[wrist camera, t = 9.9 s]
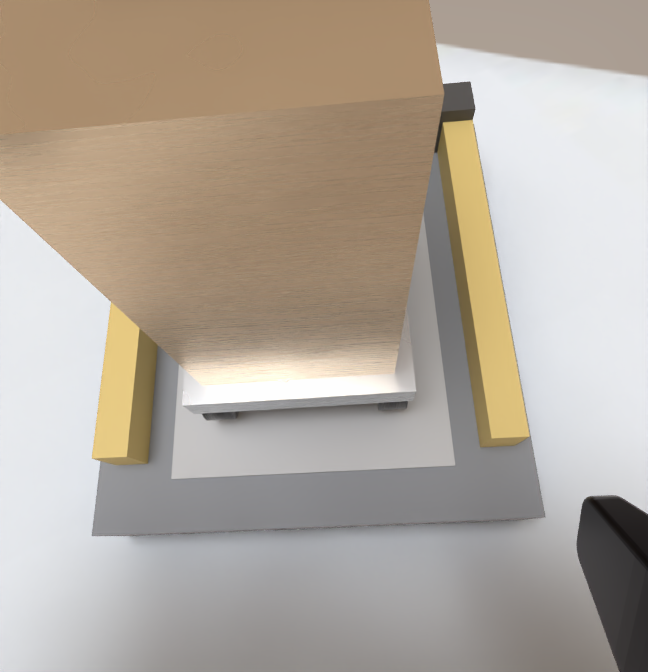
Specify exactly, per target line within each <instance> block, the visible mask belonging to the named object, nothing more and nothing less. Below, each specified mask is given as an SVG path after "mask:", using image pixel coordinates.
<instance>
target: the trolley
mask: <svg viewBox="0 0 648 672" xmlns="http://www.w3.org/2000/svg"><path fill="white" fill-rule="evenodd" d="M443 99H444V89H443V83H442V77H441V71H440V65H439V59H438V53H437V47H436V41H435V36H434V30H433V23H432V18H431V11H430V5H429V0H0V200H1V201H2V202H3V203H5V204H6V205H7V206H8V207H9V208H10V209H11V210H12V211H13V212H14V213H15V214H16V215H18V216H19V217H20V218H21V219H22V220H23V221H24V222H25V223H26V224H27V225H28V226H29V227H31V228H32V229H33V230H34V231H35V232H36V233H37V234H38V235H39V236H40V237H41V238H42V239H44V240H45V241H46V242H47V243H48V244H49V245H50V246H51V247H52V248H53V249H54V250H56V251H57V252H58V253H59V254H60V255H61V256H62V257H63V258H64V259H65V260H66V261H67V262H69V263H70V264H71V265H72V266H73V267H74V268H75V269H76V270H77V271H78V272H79V273H80V274H82V275H83V276H84V277H85V278H86V279H87V280H88V281H89V282H90V283H91V284H92V285H93V286H95V287H96V288H97V289H98V290H99V291H100V292H101V293H102V294H103V295H104V296H105V297H106V298H108V299H109V300H110V301H111V302H112V303H113V304H114V305H115V306H116V307H117V308H118V309H119V310H121V311H122V312H123V313H124V314H125V315H126V316H127V317H128V318H129V319H130V320H131V321H133V322H134V323H135V324H136V325H137V326H138V327H139V328H140V329H141V330H142V331H143V332H144V333H146V334H147V335H148V336H149V337H150V338H151V339H152V340H153V341H154V342H155V343H156V344H157V345H159V346H160V347H161V348H162V349H163V350H164V351H165V352H166V353H167V354H168V355H169V356H170V357H172V358H173V359H174V360H175V361H176V362H177V363H178V364H179V365H180V366H181V367H182V368H183V369H184V383H183V400H182V406H183V407H185V408H186V409H188V410H189V411H190V412H192V413H193V414H202V415H203V417H204V418H205V419H206V420H207V421H211V420H227V419H236V418H237V417H238V415H239V412H240V411H254V410H270V409H286V408H303V407H319V406H336V405H352V404H369V403H377V406H378V410H394V409H407V405H408V401H413V399H414V396H415V393H416V384H415V375H414V366H413V357H412V348H411V339H410V330H409V321H408V313H407V301H408V295H409V290H410V284H411V278H412V273H413V267H414V262H415V256H416V250H417V245H418V239H419V234H420V228H421V222H422V217H423V211H424V206H425V200H426V194H427V189H428V183H429V178H430V172H431V166H432V161H433V155H434V150H435V144H436V138H437V133H438V127H439V122H440V116H441V111H442V105H443Z"/></svg>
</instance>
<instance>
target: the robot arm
mask: <svg viewBox="0 0 648 672" xmlns="http://www.w3.org/2000/svg"><path fill="white" fill-rule="evenodd" d="M577 553H578V557H579V561H580V564H581V567H582V569H583V572H584V575H585V578H586V581H587V583H588V586H589V589H590V592H591V594H592V597H593V600H594V603H595V605H596V608H597V611H598V614H599V617H600V619H601V622H602V625H603V628H604V630H605V633H606V636H607V639H608V642H609V644H610V647H611V650H612V653H613V655H614V658H615V661H616V663H617V666H618V668H619V671H620V672H648V514H647V513H645V512H644V511H642V510H640V509H639V508H637V507H636V506H634V505H632V504H631V503H629V502H628V501H626V500H625V499H623V498H621V497H619V496H614V495H606V496H590V497H587V498H586V499H585V500H584V502H583V504H582V509H581V516H580V523H579V529H578V536H577Z"/></svg>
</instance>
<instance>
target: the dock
mask: <svg viewBox="0 0 648 672" xmlns="http://www.w3.org/2000/svg"><path fill="white" fill-rule="evenodd" d="M443 89H444V99H443V105H442V111H441V116H440V122H439V127H438V133H437V138H436V144H435V150H434V155H433V161H432V166H431V172H430V178H429V183H428V189H427V194H426V200H425V206H424V211H423V217H422V222H421V228H420V234H419V239H418V245H417V250H416V256H415V262H414V267H413V273H412V278H411V284H410V290H409V295H408V301H407V313H408V321H409V330H410V339H411V348H412V357H413V366H414V375H415V384H416V393H415V396H414V399H413V401H408V405H407V409H394V410H378V406H377V403H369V404H352V405H336V406H319V407H303V408H286V409H270V410H254V411H240V412H239V415H238V417H237V418H236V419H227V420H211V421H207V420H206V419H205V418H204V417H203V415H202V414H193V413H192V412H190V411H189V410H188V409H186V408H185V407H183V406H182V400H183V383H184V369H183V368H182V367H181V366H180V365H179V364H178V363H177V362H176V361H175V360H174V359H173V358H172V357H170V356H169V355H168V354H167V353H166V352H165V351H164V350H163V349H162V348H161V347H160V346H159V345H157V344H156V343H155V342H154V341H153V340H152V339H151V338H150V337H149V336H148V335H147V334H146V333H144V332H143V331H142V330H141V329H140V328H139V327H138V326H137V325H136V324H135V323H134V322H133V321H131V320H130V319H129V318H128V317H127V316H126V315H125V314H124V313H123V312H122V311H121V310H119V309H118V308H117V307H116V306H115V305H114V304H113V303H112V302H111V306H110V314H109V323H108V331H107V339H106V347H105V355H104V363H103V371H102V380H101V388H100V396H99V404H98V412H97V420H96V428H95V437H94V445H93V453H92V459H95V460H99V461H101V462H100V470H99V479H98V487H97V496H96V505H95V513H94V522H93V530H92V536H141V535H165V534H189V533H213V532H237V531H261V530H286V529H310V528H334V527H358V526H382V525H406V524H430V523H455V522H479V521H503V520H523V519H532V518H542V517H545V513H544V507H543V502H542V496H541V491H540V485H539V480H538V474H537V469H536V463H535V458H534V452H533V447H532V441H531V436H530V430H529V425H528V419H527V414H526V408H525V403H524V397H523V392H522V386H521V381H520V375H519V370H518V364H517V359H516V353H515V348H514V342H513V337H512V331H511V326H510V320H509V315H508V309H507V304H506V298H505V293H504V287H503V282H502V276H501V271H500V265H499V260H498V254H497V249H496V243H495V238H494V232H493V227H492V221H491V216H490V210H489V205H488V199H487V194H486V188H485V183H484V177H483V172H482V166H481V161H480V155H479V150H478V144H477V139H476V133H475V128H474V124H473V116H474V112H475V104H474V99H473V93H472V88H471V83H470V82H460V83H449V84H443Z"/></svg>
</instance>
